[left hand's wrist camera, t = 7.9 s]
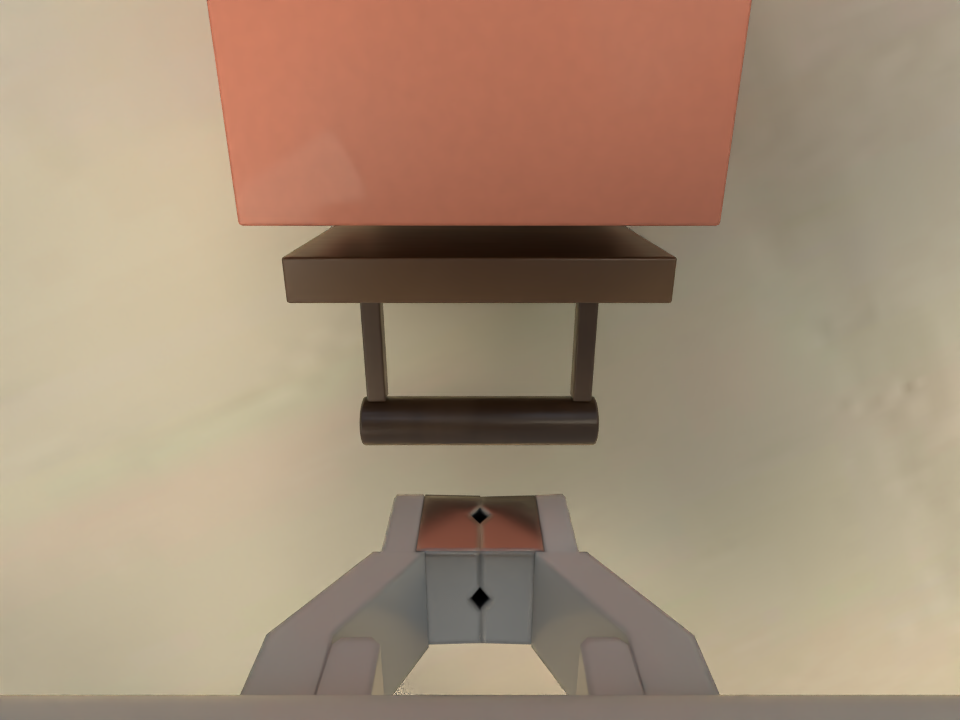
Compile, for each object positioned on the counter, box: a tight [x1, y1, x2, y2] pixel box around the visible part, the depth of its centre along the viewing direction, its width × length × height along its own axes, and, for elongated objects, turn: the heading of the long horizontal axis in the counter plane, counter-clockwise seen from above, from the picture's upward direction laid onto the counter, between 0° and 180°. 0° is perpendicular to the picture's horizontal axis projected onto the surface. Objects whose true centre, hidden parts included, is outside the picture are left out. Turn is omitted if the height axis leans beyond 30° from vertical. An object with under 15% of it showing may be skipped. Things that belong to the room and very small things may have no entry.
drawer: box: [282, 226, 677, 445], centre depth 17 cm, size 24×10×8 cm, turn 0°
